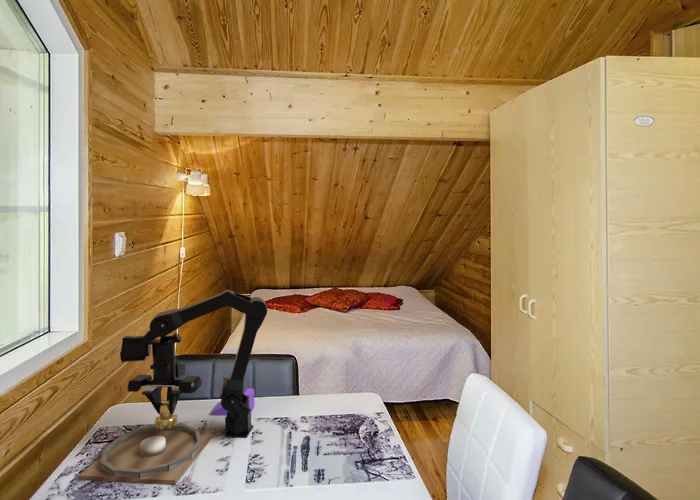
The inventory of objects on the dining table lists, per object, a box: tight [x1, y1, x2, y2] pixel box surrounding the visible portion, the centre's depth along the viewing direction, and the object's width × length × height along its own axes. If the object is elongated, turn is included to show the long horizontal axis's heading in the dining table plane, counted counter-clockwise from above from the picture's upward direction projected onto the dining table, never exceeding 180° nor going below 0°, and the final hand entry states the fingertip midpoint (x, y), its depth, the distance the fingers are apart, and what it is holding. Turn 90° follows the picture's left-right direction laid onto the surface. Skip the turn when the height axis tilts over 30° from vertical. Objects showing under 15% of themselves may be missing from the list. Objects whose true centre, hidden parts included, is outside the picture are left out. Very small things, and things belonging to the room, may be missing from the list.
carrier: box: [77, 423, 217, 485], centre depth 114 cm, size 24×24×4 cm
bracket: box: [211, 387, 256, 417], centre depth 140 cm, size 12×7×7 cm, turn 90°
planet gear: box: [154, 400, 178, 429], centre depth 120 cm, size 6×6×6 cm
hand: (166, 413), depth 120 cm, fingers closed on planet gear, 3 cm apart
